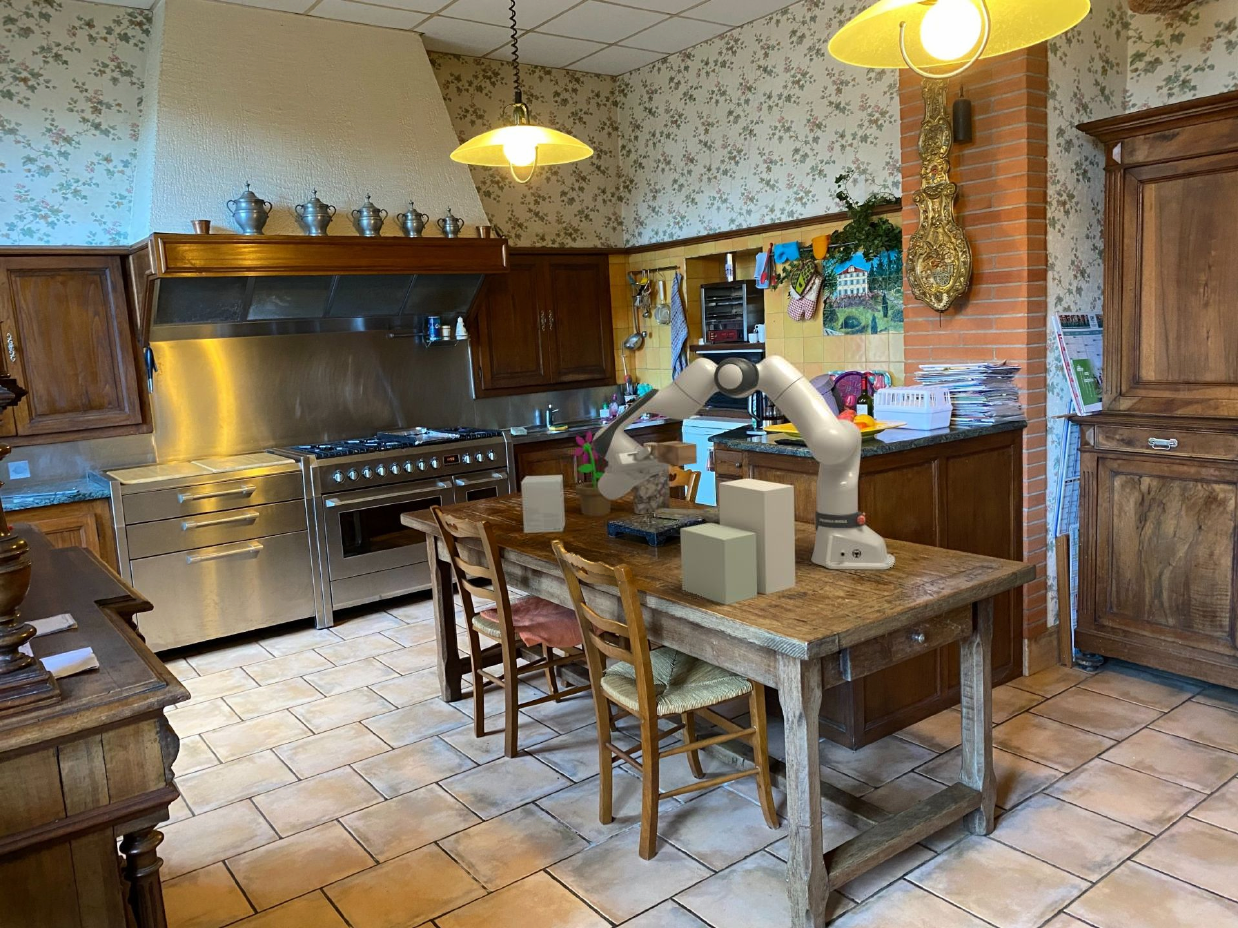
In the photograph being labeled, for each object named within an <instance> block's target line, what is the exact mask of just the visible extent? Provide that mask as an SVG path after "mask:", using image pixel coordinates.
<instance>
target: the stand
mask: <svg viewBox="0 0 1238 928" xmlns="http://www.w3.org/2000/svg"><path fill="white" fill-rule="evenodd" d="M718 496H719V497H718V501H719V503H718V506H719V507H720V522H719V524H718V523H713V522H706V523H702V524H698V525H692V526H687V527H682V528H680V553H681V554H680V557H681V560H680V561H681V585H682V586H681V587H682V588H681V589H682V590H681V591H684V590H686V591H685V592H687V591H688V592H687V593H690V592H691V593H690V594H692V593H693V594H692V595H695V594H697V595H696V596H698V595H699V597H701V596H702V598H705V599H707V600H710V601H713V602H715V603H719V604H721V605H725V606H728V605H731V604H735V603H739V602H742V601H746V600H751V599H754V598H755V599H756V598H757V597H758V593H759V594H764V595H770V594H772V593H777V592H781V591H784V590H785V591H786V590H789V589H792V588H793V589H794V588H796V555H795V553H796V552H795V551H796V550H795V549H796V545H795V544H796V543H795V541H796V540H795V538H796V537H795V535H796V533H795V485H790V484H784V483H783V484H782V483H778V482H772V481H765V480H760V479H754V478H742V479H736V480H731V481H729V480H728V481H723V482H718Z"/></svg>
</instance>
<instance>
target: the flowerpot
mask: <svg viewBox="0 0 1238 928" xmlns="http://www.w3.org/2000/svg"><path fill="white" fill-rule="evenodd" d="M585 435H586V436H585V440H584V439H583V438H582V437H581V436H576V437H575V441H576V443H577V444H578V445H579V446H582V447H578V448H576V449H575V450H574V451H573V453H572V455H573V456H580V455H582V458H581V462H582V465H581V466H579V467H578V468H577V470H578V471H579V472H582V473H590V472H592V479H593V480H592V482H585V483H584V482H583V483H579V484H576V485H575V490H574V491H575V493H577V494H578V498H579V503H580V509H581V514H582V515H584V516H592V517H593V516H594V517H595V516H597V517H598V516H605V515H608V514H610V512H611V503H612V500H611V499H608V498H606V497H605V496H603V495H602V494H601V493H600V491H599V489H598V482H599V481H597V479H600V478H601V477H602V476H603V474H604V473H605V472H599V471H598V472H596V465H595V460H598V459H599V455H597V454H596V453H595V452H594V449H593V445H592V440H593V434H592V431H591V430H588V432H587V433H586V434H585ZM589 457H590V459H591V460H590V461H591V463H588V462H589Z"/></svg>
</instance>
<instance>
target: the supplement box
mask: <svg viewBox="0 0 1238 928" xmlns="http://www.w3.org/2000/svg"><path fill="white" fill-rule="evenodd" d="M563 478H564V477H563V475H562V474H553V475H552V474H551V475H549V474H548V475H526V476H525V477H524V478H523V479H522V481H521V482H520V484H521V485H520V486H521V501H522V502H521V503H522V518H523V519H522V520H523V533H524V534H529V533H531V534H532V533H559V532H560V533H561V532H563V531H564V528H565V525H566V519H565V518H566V517H565V497H564V496H565V495H564V481H563Z"/></svg>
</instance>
